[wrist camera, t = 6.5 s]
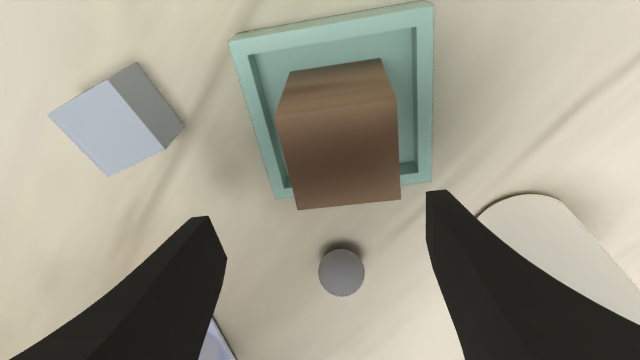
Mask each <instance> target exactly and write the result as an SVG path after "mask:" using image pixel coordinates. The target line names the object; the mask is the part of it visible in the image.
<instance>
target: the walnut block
mask: <svg viewBox="0 0 640 360" xmlns="http://www.w3.org/2000/svg"><path fill="white" fill-rule="evenodd" d="M274 118H275V122H276V126H277V130H278V134H279V138H280V142H281V146H282V150H283V154H284V158H285V162H286V166H287V170H288V174H289V177H290V181H291V185H292V189H293V193H294V197H295V201H296V205H297V209H298V210H304V209H314V208H323V207H333V206H342V205H352V204H361V203H371V202H380V201H390V200H399V199H401V190H400V166H399V141H398V116H397V99H396V96H395V94H394V91H393V89H392V86H391V84H390V81H389V79H388V76H387V74H386V71H385V69H384V66H383V64H382V61H381V59H380V58H375V59H368V60H362V61H355V62H349V63H342V64H336V65H329V66H323V67H316V68H310V69H303V70H297V71H290V73H289V75H288V78H287V81H286V84H285V87H284V90H283V93H282V95H281V98H280V101H279V104H278V107H277V110H276V113H275V116H274Z"/></svg>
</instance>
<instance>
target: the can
mask: <svg viewBox="0 0 640 360" xmlns="http://www.w3.org/2000/svg"><path fill="white" fill-rule="evenodd" d="M477 219H478V220H479V221H480V222H481V223H482V224H484V225H485V226H486V227H487V228H488V229H489V230H490V231H492V232H493V233H494V234H495V235H496V236H497V237H499V238H500V239H501V240H502V241H504V242H505V243H506V244H507V245H509V246H510V247H511V248H512V249H514V250H515V251H516V252H518V253H519V254H520V255H522V256H523V257H524V258H526V259H527V260H528V261H530V262H531V263H533V264H534V265H536V266H537V267H539V268H540V269H542V270H543V271H545V272H546V273H548V274H549V275H551V276H552V277H554V278H555V279H557V280H559V281H560V282H562V283H563V284H565V285H567V286H568V287H570V288H572V289H574V290H575V291H577V292H579V293H580V294H582V295H584V296H586V297H587V298H589V299H591V300H593V301H594V302H596V303H598V304H600V305H602V306H604V307H605V308H607V309H609V310H611V311H613V312H615V313H617V314H619V315H621V316H623V317H625V318H627V319H629V320H631V321H633V322H635V323H637V324H639V325H640V289H639V288H638V287H637V286H636V285H635V283H634V282H633V281H632V280H631V279H630V278H629V277H628V275H627V274H626V273H625V272H624V271H623V270H622V269H621V267H620V266H619V265H618V264H617V263H616V262H615V261H614V260H613V258H612V257H611V256H610V255H609V254H608V253H607V252H606V250H605V249H604V248H603V247H602V246H601V245H600V244H599V243H598V241H597V240H596V239H595V238H594V237H593V236H592V235H591V234H590V232H589V231H588V230H587V229H586V228H585V227H584V226H583V224H582V223H581V222H580V221H579V220H578V219H577V218H576V217H575V216H574V214H573V213H572V212H571V211H570V210H569V209H568V208H567V207H566V206H565V205H564V204H563V203H562V202H561V201H559V200H557V199H555V198H552V197H549V196H544V195H537V194H522V195H515V196H511V197H508V198H505V199H502V200H500V201H498V202H496V203H494V204H492V205H491V206H489V207H488V208H486V209H485V210H484V211H483V212H482V213H481V214H480V215H479V216H478V217H477Z"/></svg>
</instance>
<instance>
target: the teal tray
mask: <svg viewBox="0 0 640 360" xmlns="http://www.w3.org/2000/svg"><path fill="white" fill-rule="evenodd" d="M228 44H229V47H230V51H231V54H232V57H233V61H234V64H235V67H236V71H237V74H238V77H239V81H240V84H241V87H242V91H243V94H244V97H245V101H246V104H247V107H248V111H249V114H250V117H251V121H252V124H253V127H254V131H255V134H256V137H257V140H258V144H259V147H260V150H261V154H262V157H263V160H264V164H265V167H266V170H267V174H268V177H269V180H270V184H271V187H272V190H273V194H274V197H275V200H277V199H286V198H295V197H294V193H293V189H292V185H291V181H290V177H289V174H288V170H287V166H286V162H285V158H284V154H283V150H282V146H281V142H280V138H279V134H278V130H277V126H276V122H275V118H274V116H275V113H276V110H277V107H278V104H279V101H280V98H281V95H282V93H283V90H284V87H285V84H286V81H287V78H288V75H289V73H290V71H297V70H303V69H310V68H316V67H323V66H329V65H336V64H342V63H349V62H355V61H362V60H368V59H375V58H380V59H381V61H382V64H383V66H384V69H385V71H386V74H387V76H388V79H389V81H390V84H391V86H392V89H393V91H394V94H395V96H396V99H397V116H398V141H399V166H400V185H408V184H417V183H425V182H431V168H432V86H433V5H431V4H430V3H428V2H427V1H425V0H422V1H416V2H410V3H405V4H399V5H393V6H388V7H382V8H377V9H371V10H365V11H360V12H354V13H348V14H343V15H337V16H331V17H326V18H320V19H315V20H309V21H303V22H298V23H292V24H286V25H281V26H275V27H270V28H264V29H258V30H253V31H247V32H241V33H237V34H236V35H235V36H234V37H232V38H231V39H230V40H229V41H228Z"/></svg>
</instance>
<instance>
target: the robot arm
mask: <svg viewBox="0 0 640 360" xmlns="http://www.w3.org/2000/svg"><path fill="white" fill-rule="evenodd" d="M426 242H427V247H428V251H429V255H430V259H431V263H432V267H433V270H434V273H435V276H436V278H437V281H438V284H439V286H440V289H441V292H442V294H443V297H444V300H445V302H446V305H447V308H448V310H449V313H450V316H451V318H452V321H453V324H454V326H455V329H456V331H457V334H458V337H459V340H460V343H461V347H462V350H463V354H464V357H465V360H640V325H639V324H637V323H635V322H633V321H631V320H629V319H627V318H625V317H623V316H621V315H619V314H617V313H615V312H613V311H611V310H609V309H607V308H605V307H604V306H602V305H600V304H598V303H596V302H594V301H593V300H591V299H589V298H587V297H586V296H584V295H582V294H580V293H579V292H577V291H575V290H574V289H572V288H570V287H568V286H567V285H565V284H563V283H562V282H560V281H559V280H557V279H555V278H554V277H552V276H551V275H549V274H548V273H546V272H545V271H543V270H542V269H540V268H539V267H537V266H536V265H534V264H533V263H531V262H530V261H528V260H527V259H526V258H524V257H523V256H522V255H520V254H519V253H518V252H516V251H515V250H514V249H512V248H511V247H510V246H509V245H507V244H506V243H505V242H504V241H502V240H501V239H500V238H499V237H497V236H496V235H495V234H494V233H493V232H492V231H490V230H489V229H488V228H487V227H486V226H485V225H484V224H482V223H481V222H480V221H479V220H478V219H477V218H476V217H475V216H474V215H472V214H471V213H470V212H469V211H468V210H467V209H466V208H465V207H464V206H463V205H462V204H461V203H460V202H459V201H458V200H457V199H456V198H455V197H454V196H453V195H452V194H451V193H450V192H449V191H447V190H437V191H428V192H426ZM226 263H227V256H226V254H225V252H224V250H223V247H222V245H221V243H220V241H219V238H218V236H217V234H216V232H215V229H214V227H213V225H212V223H211V220H210V218H209V216H201V217H192V218H190V219H189V220H188V221H187V222H186V223H185V224H183V225H182V226H181V227H180V228H179V229H178V230H177V231H176V232H175V233H174V234H173V235H172V236H170V237H169V238H168V239H167V240H166V241H165V242H164V243H163V244H162V245H161V246H160V247H159V248H158V249H157V250H156V251H155V252H154V253H152V254H151V255H150V256H149V257H148V258H147V259H146V260H145V261H144V262H143V263H142V264H141V265H139V266H138V267H137V268H136V269H135V270H134V271H133V272H131V273H130V274H129V275H128V276H127V277H126V278H125V279H123V280H122V281H121V282H120V283H119V284H118V285H117V286H115V287H114V288H113V289H112V290H110V291H109V292H108V293H107V294H105V295H104V296H103V297H102V298H100V299H99V300H98V301H96V302H95V303H94V304H92V305H91V306H90V307H88V308H87V309H86V310H85V311H83V312H82V313H80V314H79V315H78V316H76V317H75V318H73V319H72V320H70V321H69V322H67V323H66V324H64V325H63V326H61V327H60V328H59V329H57V330H56V331H54V332H53V333H51V334H50V335H48V336H47V337H45V338H44V339H42V340H41V341H39V342H38V343H36V344H34V345H33V346H31V347H29V348H28V349H26V350H25V351H23V352H21V353H20V354H18V355H16V356H15V357H13V358H11V359H10V360H236V359H235V358H234V356H233V354H232V352H231V351H230V349H229V347H228V345H227V343H226V342H225V340H224V338H223V336H222V335H221V333H220V331H219V329H218V327H217V326H216V324H215V322H214V320H213V318H212V316H213V313H214V310H215V307H216V304H217V301H218V297H219V294H220V291H221V288H222V284H223V279H224V274H225V269H226Z"/></svg>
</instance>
